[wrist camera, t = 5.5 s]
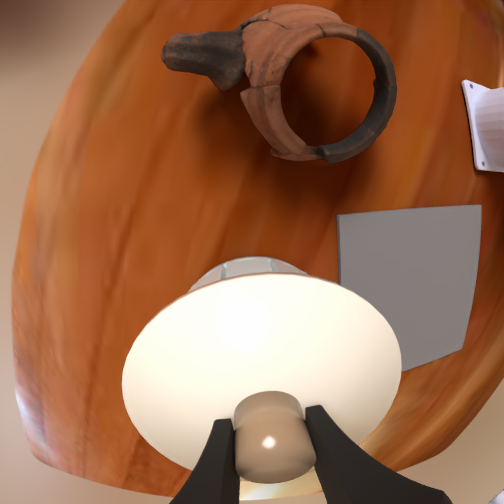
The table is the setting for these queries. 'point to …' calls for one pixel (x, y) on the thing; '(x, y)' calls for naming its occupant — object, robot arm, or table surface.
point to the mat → (414, 273)
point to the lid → (261, 370)
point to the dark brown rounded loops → (273, 68)
